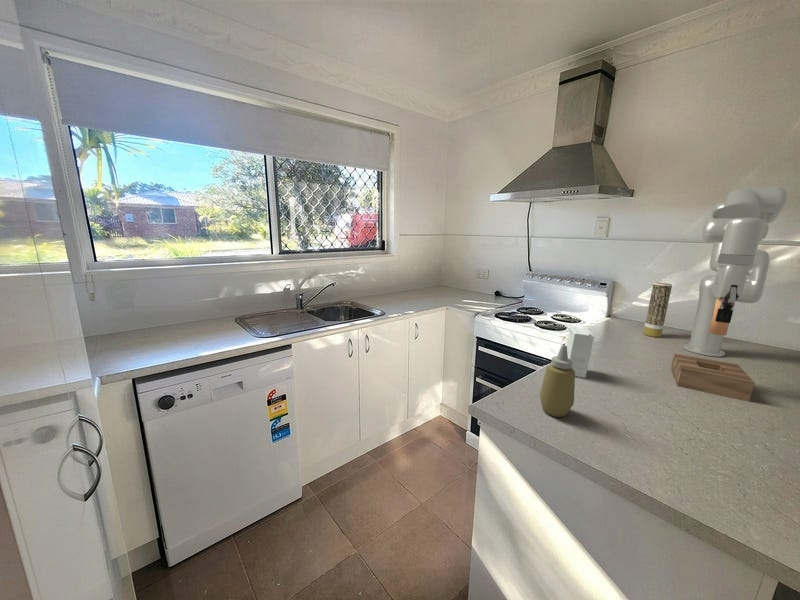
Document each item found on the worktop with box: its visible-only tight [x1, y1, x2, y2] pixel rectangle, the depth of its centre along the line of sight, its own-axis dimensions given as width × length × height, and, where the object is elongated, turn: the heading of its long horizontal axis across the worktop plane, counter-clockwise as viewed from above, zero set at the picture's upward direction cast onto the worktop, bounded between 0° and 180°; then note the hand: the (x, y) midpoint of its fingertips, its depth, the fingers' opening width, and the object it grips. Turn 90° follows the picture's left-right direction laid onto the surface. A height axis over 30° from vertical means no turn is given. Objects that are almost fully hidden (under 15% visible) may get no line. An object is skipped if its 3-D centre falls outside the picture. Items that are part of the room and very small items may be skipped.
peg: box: [709, 294, 737, 336], centre depth 99 cm, size 4×4×14 cm
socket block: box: [670, 352, 755, 402], centre depth 104 cm, size 16×16×6 cm
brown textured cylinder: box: [643, 282, 673, 338], centre depth 152 cm, size 7×7×25 cm
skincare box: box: [566, 325, 595, 379], centre depth 108 cm, size 8×6×15 cm
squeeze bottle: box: [539, 344, 576, 418], centre depth 83 cm, size 8×8×18 cm
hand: (720, 319), depth 100 cm, fingers closed on peg, 4 cm apart
